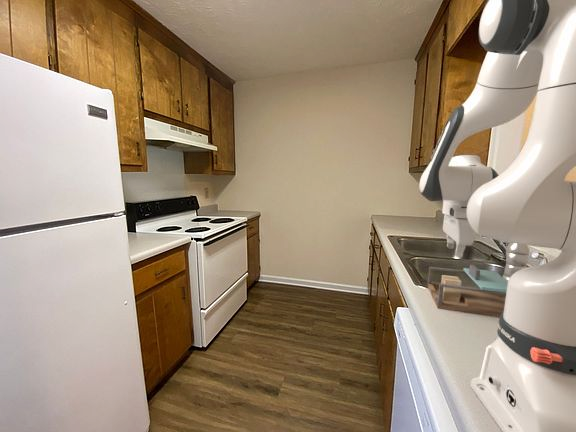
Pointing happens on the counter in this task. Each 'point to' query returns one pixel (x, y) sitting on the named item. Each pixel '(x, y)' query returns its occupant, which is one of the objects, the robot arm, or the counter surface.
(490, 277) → the cover
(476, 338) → the counter surface
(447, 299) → the block
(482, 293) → the brown wooden box
